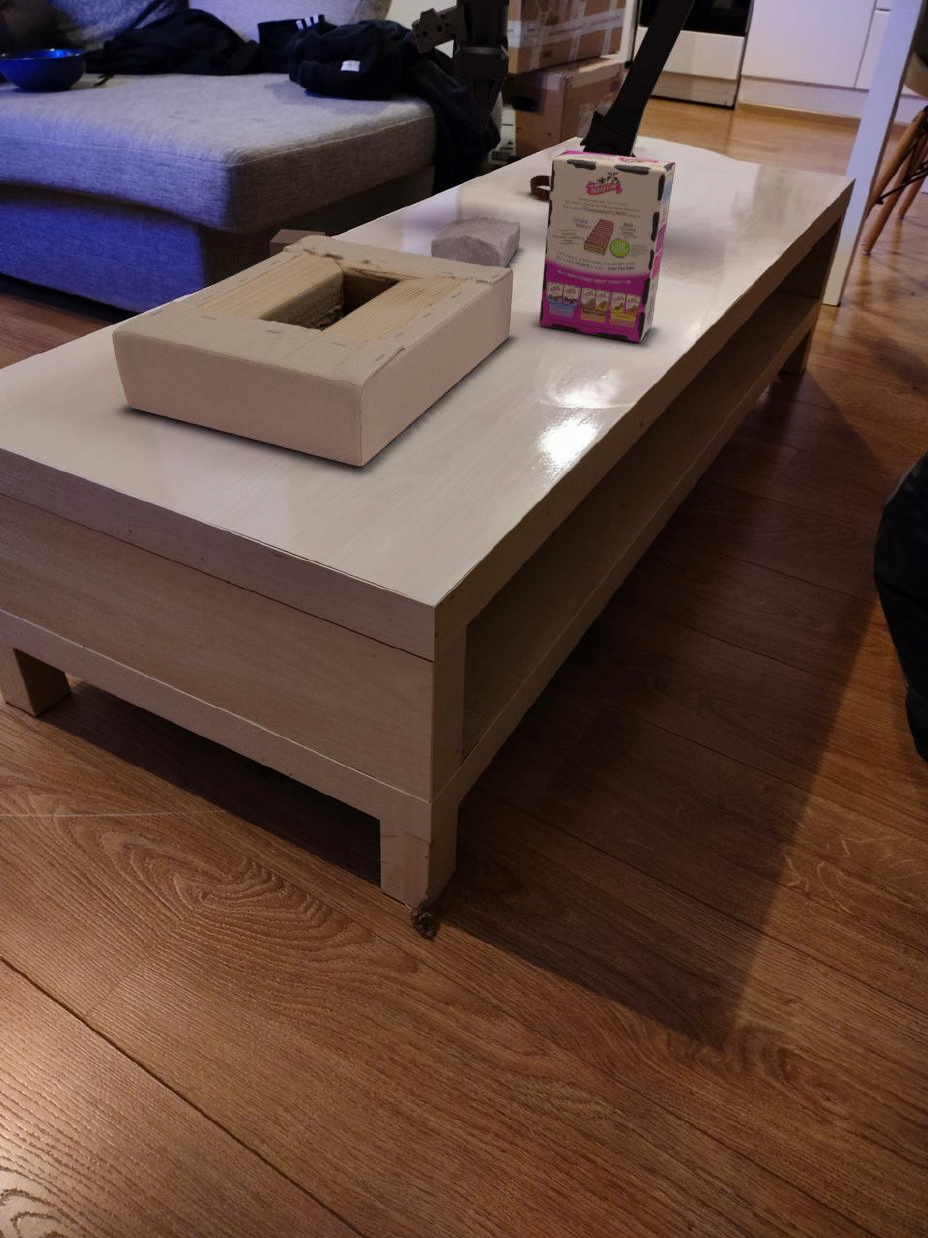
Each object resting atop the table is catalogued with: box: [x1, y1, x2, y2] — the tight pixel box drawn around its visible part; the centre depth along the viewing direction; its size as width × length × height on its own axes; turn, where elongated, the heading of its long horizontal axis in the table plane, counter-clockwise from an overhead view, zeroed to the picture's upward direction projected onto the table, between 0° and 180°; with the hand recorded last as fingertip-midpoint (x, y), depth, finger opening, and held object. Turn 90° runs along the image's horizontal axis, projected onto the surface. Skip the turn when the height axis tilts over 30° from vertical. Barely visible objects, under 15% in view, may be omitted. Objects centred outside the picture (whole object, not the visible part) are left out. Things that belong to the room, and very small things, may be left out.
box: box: [111, 235, 514, 467], centre depth 88 cm, size 23×8×32 cm
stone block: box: [430, 216, 521, 268], centre depth 118 cm, size 12×5×10 cm
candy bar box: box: [539, 149, 676, 343], centre depth 97 cm, size 11×5×16 cm, turn 68°
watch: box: [529, 174, 551, 202], centre depth 142 cm, size 8×5×4 cm, turn 48°
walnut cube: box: [268, 228, 326, 258], centre depth 108 cm, size 5×5×5 cm
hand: (479, 130), depth 121 cm, fingers open, 3 cm apart
